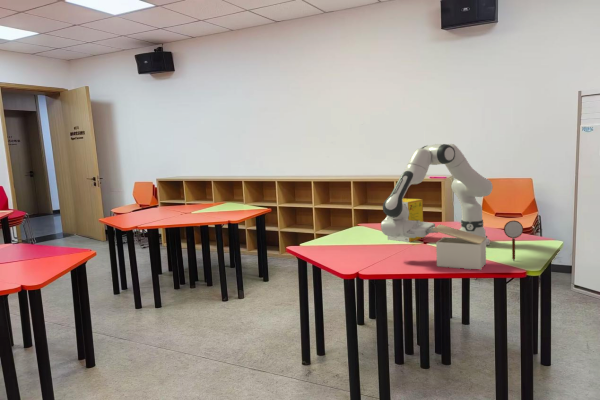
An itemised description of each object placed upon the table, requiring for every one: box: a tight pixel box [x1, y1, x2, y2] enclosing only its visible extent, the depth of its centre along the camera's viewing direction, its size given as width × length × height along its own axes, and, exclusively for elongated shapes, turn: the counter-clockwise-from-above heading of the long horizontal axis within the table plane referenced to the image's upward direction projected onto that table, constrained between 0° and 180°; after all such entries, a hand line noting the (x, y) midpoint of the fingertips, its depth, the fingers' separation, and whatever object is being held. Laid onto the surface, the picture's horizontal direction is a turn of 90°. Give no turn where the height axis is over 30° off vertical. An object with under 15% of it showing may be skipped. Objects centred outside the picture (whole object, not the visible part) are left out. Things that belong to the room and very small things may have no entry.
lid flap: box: [432, 224, 486, 244], centre depth 213 cm, size 14×22×1 cm, turn 57°
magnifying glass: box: [503, 220, 524, 262], centre depth 215 cm, size 9×2×20 cm, turn 77°
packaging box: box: [386, 198, 425, 243], centre depth 284 cm, size 16×16×25 cm
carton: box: [435, 236, 487, 271], centre depth 214 cm, size 13×20×12 cm, turn 57°
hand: (439, 230), depth 219 cm, fingers closed
